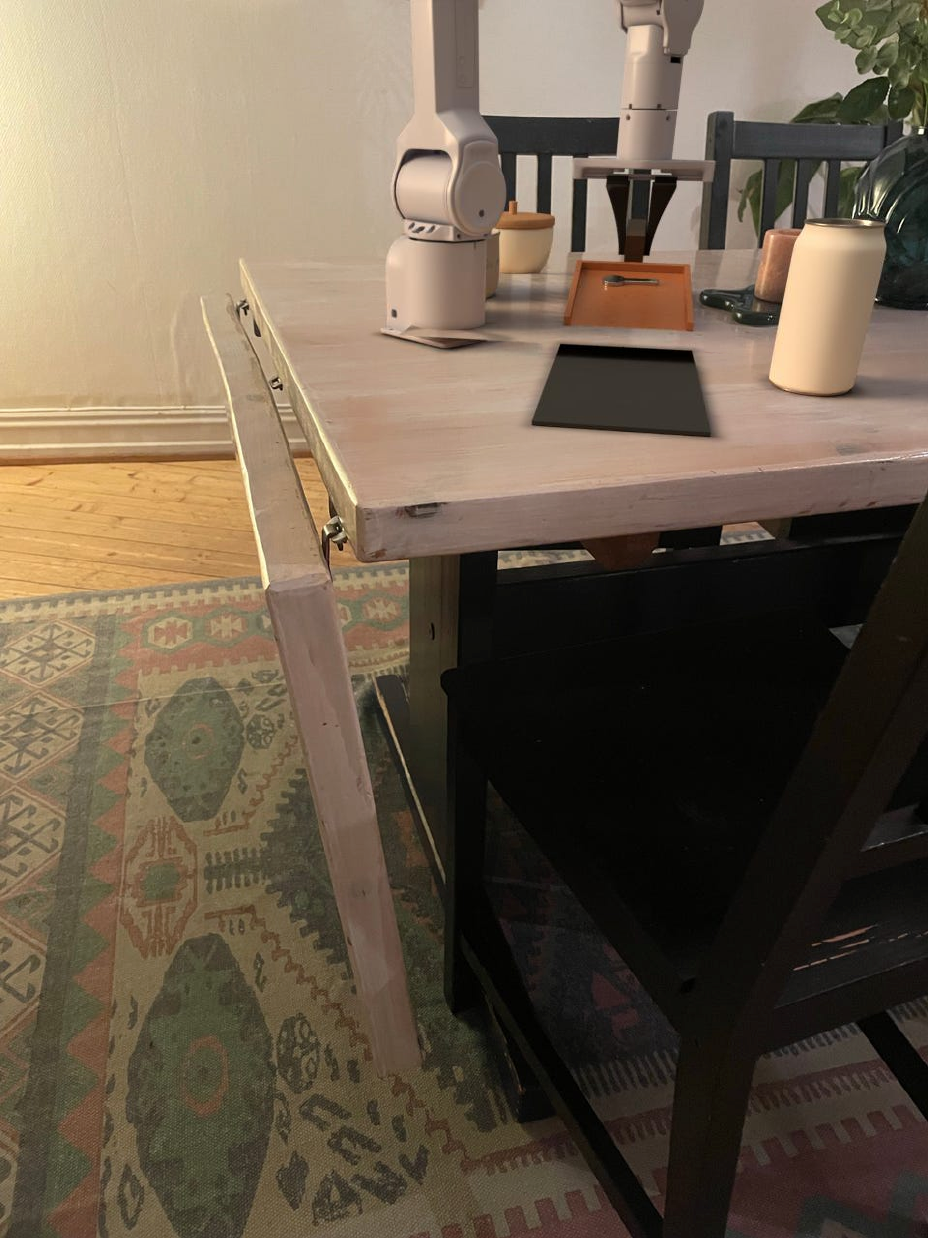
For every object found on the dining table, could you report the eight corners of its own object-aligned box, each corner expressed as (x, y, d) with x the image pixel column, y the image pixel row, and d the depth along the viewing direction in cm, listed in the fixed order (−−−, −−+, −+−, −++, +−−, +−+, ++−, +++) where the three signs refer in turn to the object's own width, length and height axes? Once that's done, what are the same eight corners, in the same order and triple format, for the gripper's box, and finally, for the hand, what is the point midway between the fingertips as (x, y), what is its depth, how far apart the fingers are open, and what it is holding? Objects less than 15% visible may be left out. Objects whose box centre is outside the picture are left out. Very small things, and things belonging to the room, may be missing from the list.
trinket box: (565, 278, 115) (570, 200, 110) (526, 289, 107) (530, 206, 102) (496, 271, 120) (498, 196, 115) (454, 281, 112) (454, 201, 107)
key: (601, 286, 89) (601, 282, 89) (602, 278, 91) (603, 274, 91) (658, 288, 88) (658, 284, 88) (658, 280, 90) (659, 276, 90)
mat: (531, 424, 59) (531, 420, 59) (561, 342, 81) (561, 339, 81) (710, 436, 57) (710, 432, 57) (691, 349, 80) (691, 346, 79)
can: (755, 375, 71) (784, 217, 65) (830, 375, 72) (865, 217, 66) (787, 397, 66) (821, 226, 60) (868, 396, 66) (910, 226, 60)
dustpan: (562, 330, 82) (565, 286, 79) (580, 255, 99) (582, 217, 96) (691, 336, 80) (698, 292, 77) (687, 259, 97) (692, 220, 94)
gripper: (719, 111, 90) (699, 251, 97) (579, 109, 92) (570, 247, 99) (724, 110, 84) (703, 260, 91) (575, 108, 86) (565, 255, 93)
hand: (634, 254), depth 94 cm, fingers closed on dustpan, 2 cm apart
